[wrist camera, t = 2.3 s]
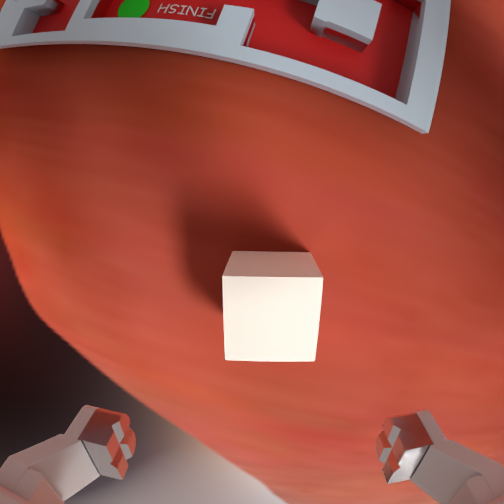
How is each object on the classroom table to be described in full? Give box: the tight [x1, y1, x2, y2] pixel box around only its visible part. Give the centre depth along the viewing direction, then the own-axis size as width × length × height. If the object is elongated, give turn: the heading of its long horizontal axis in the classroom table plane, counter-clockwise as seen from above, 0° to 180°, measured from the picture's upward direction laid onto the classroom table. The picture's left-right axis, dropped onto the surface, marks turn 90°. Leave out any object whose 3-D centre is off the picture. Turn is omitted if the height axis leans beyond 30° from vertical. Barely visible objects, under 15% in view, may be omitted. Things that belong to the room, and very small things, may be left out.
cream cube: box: [222, 251, 323, 361], centre depth 18 cm, size 5×5×5 cm
